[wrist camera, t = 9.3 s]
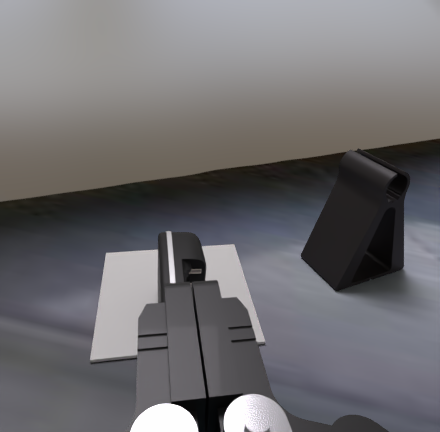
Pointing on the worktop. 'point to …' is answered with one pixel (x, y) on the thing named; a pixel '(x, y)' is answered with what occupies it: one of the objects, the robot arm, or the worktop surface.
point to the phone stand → (360, 223)
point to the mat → (153, 296)
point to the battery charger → (179, 260)
